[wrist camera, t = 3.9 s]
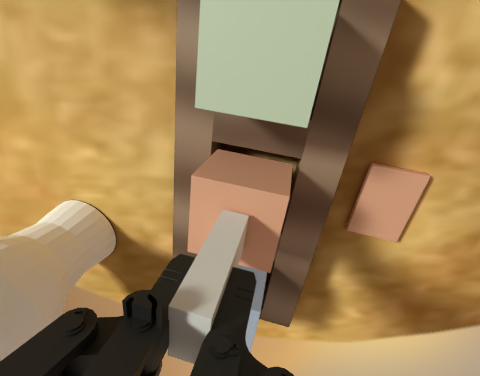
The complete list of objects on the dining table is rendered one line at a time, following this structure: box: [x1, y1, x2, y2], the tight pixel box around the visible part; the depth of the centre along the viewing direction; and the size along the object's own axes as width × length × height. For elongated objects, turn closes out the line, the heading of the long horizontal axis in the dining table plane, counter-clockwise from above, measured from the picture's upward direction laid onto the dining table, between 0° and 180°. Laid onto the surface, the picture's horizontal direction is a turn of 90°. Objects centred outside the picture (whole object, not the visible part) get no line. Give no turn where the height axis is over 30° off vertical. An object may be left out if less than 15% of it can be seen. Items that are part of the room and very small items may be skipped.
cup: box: [0, 200, 116, 361], centre depth 23 cm, size 11×11×15 cm
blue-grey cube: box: [238, 265, 267, 352], centre depth 21 cm, size 5×5×5 cm
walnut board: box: [173, 0, 401, 327], centre depth 21 cm, size 27×12×3 cm, turn 172°
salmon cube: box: [187, 149, 293, 273], centre depth 17 cm, size 5×5×5 cm
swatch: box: [346, 163, 431, 242], centre depth 20 cm, size 6×4×1 cm, turn 172°
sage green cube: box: [195, 0, 340, 128], centre depth 13 cm, size 5×5×5 cm
